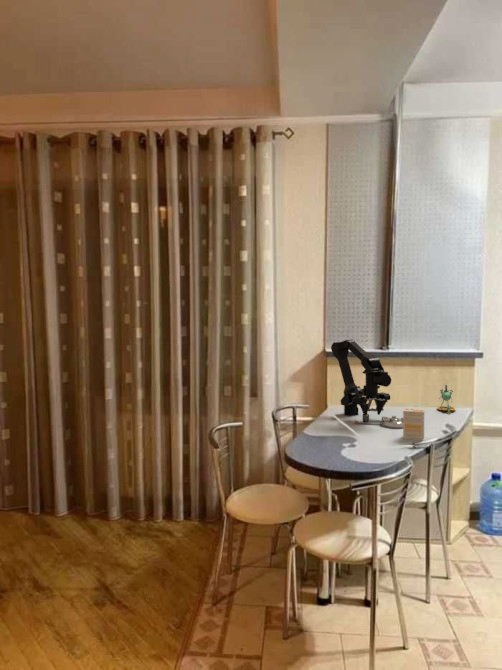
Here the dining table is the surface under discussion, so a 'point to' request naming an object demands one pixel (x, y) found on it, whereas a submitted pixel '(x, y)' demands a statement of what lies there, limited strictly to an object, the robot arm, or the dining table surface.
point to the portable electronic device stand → (372, 408)
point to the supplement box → (413, 424)
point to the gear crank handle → (386, 421)
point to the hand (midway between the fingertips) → (372, 415)
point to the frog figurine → (446, 396)
